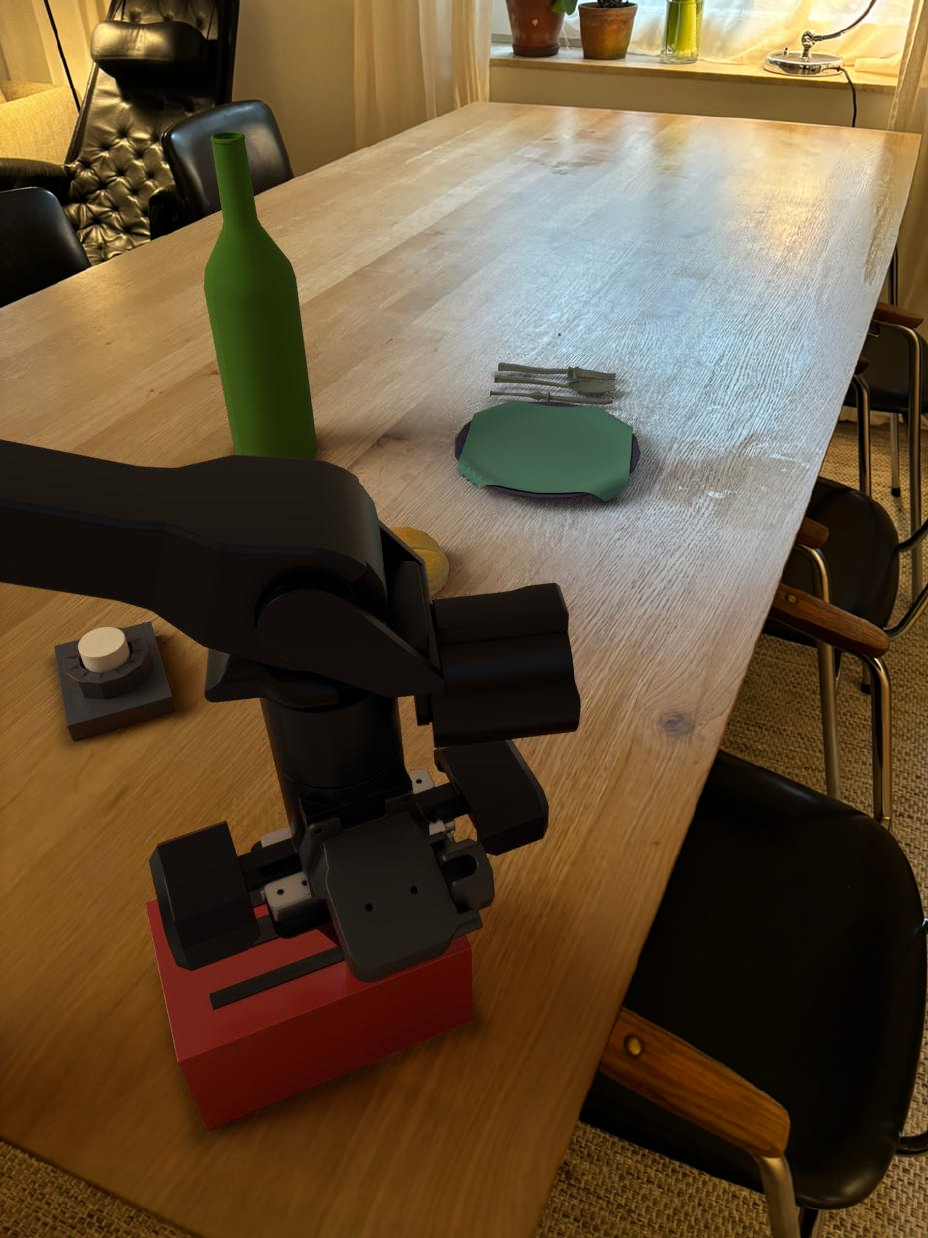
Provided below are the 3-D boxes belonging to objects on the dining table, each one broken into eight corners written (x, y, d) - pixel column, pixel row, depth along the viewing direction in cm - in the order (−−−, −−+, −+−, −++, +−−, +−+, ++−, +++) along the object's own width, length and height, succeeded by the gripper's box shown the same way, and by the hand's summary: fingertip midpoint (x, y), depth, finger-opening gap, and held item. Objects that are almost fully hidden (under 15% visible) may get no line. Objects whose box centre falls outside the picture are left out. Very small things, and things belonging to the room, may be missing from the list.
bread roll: (370, 616, 88) (366, 581, 85) (352, 557, 94) (348, 523, 92) (460, 600, 89) (459, 564, 87) (436, 543, 96) (435, 509, 93)
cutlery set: (438, 504, 101) (437, 485, 99) (483, 370, 123) (483, 353, 122) (635, 521, 98) (637, 502, 97) (645, 381, 121) (647, 364, 119)
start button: (86, 678, 78) (80, 662, 76) (81, 650, 80) (75, 633, 79) (133, 665, 79) (128, 649, 78) (126, 638, 81) (121, 621, 80)
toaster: (206, 1131, 55) (176, 1061, 49) (172, 976, 62) (144, 901, 56) (473, 1020, 59) (472, 946, 54) (413, 888, 66) (407, 811, 61)
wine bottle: (268, 427, 113) (219, 117, 92) (333, 445, 110) (298, 128, 89) (218, 463, 107) (154, 141, 86) (286, 484, 104) (235, 154, 83)
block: (72, 741, 77) (60, 709, 74) (59, 660, 84) (47, 629, 81) (176, 711, 79) (167, 679, 77) (155, 635, 86) (146, 604, 84)
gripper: (154, 973, 35) (234, 1151, 46) (614, 801, 41) (593, 995, 51) (110, 757, 43) (187, 951, 53) (500, 636, 48) (502, 833, 59)
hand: (369, 934), depth 54 cm, fingers closed on slider, 2 cm apart
